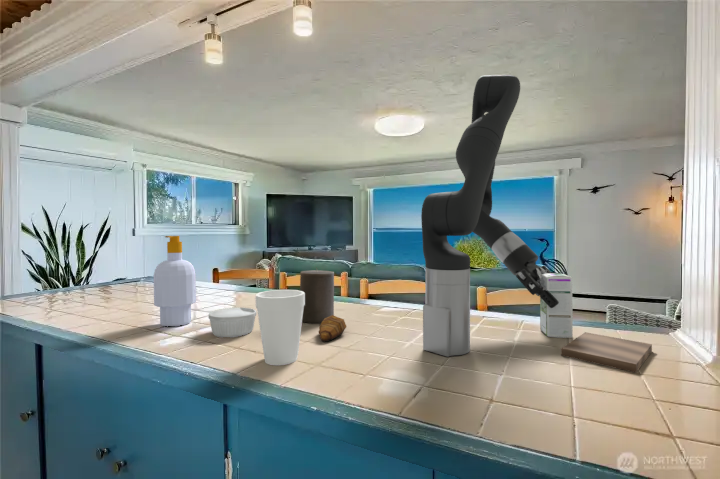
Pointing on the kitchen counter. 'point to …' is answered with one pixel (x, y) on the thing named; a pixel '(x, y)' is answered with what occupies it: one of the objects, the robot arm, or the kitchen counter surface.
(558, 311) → the syrup box
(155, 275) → the soap bottle
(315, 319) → the pillar candle
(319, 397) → the kitchen counter surface
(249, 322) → the ramekin
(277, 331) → the foam cup
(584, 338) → the walnut board
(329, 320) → the croissant
